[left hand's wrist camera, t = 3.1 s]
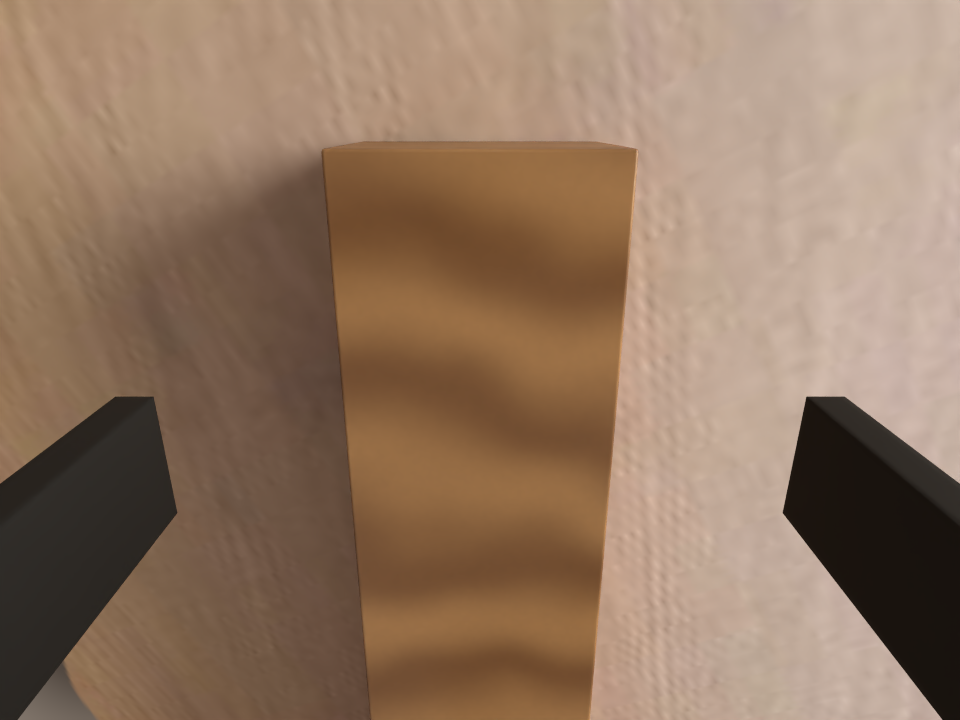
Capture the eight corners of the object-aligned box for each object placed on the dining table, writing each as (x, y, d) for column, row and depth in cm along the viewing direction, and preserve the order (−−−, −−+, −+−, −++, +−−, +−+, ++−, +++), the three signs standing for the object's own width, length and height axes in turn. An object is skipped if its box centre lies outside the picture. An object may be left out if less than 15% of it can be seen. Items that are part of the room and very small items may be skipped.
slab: (361, 141, 24) (320, 148, 18) (598, 141, 24) (639, 149, 18) (413, 947, 43) (401, 1089, 37) (546, 947, 43) (558, 1088, 37)
